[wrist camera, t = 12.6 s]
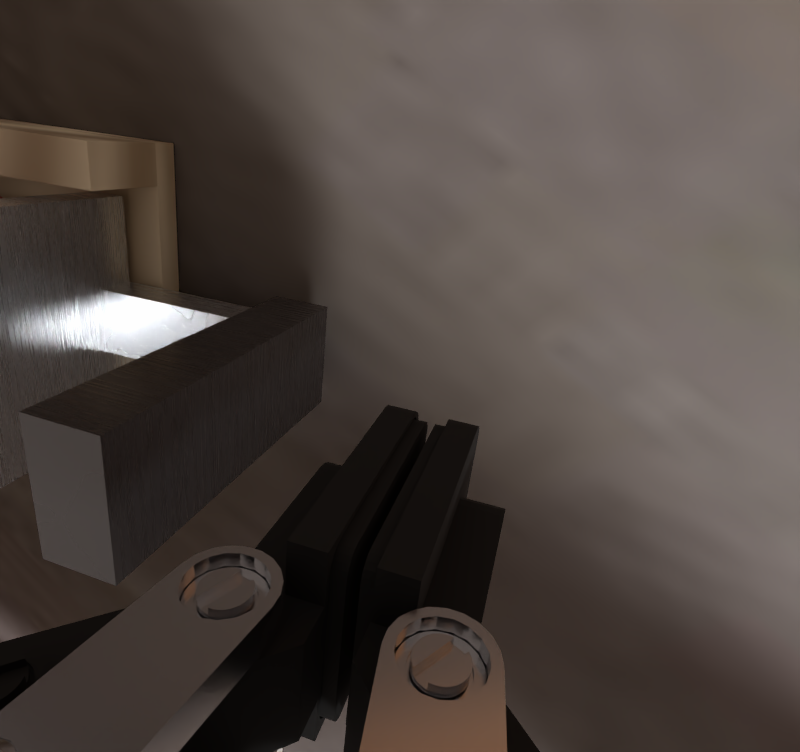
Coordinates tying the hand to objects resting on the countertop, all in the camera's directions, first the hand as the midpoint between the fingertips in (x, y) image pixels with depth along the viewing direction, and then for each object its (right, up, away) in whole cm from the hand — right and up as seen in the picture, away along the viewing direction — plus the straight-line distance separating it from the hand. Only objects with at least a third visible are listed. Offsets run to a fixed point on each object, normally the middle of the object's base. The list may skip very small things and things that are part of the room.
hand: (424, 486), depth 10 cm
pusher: (-6, +3, +7) cm, 10 cm away
